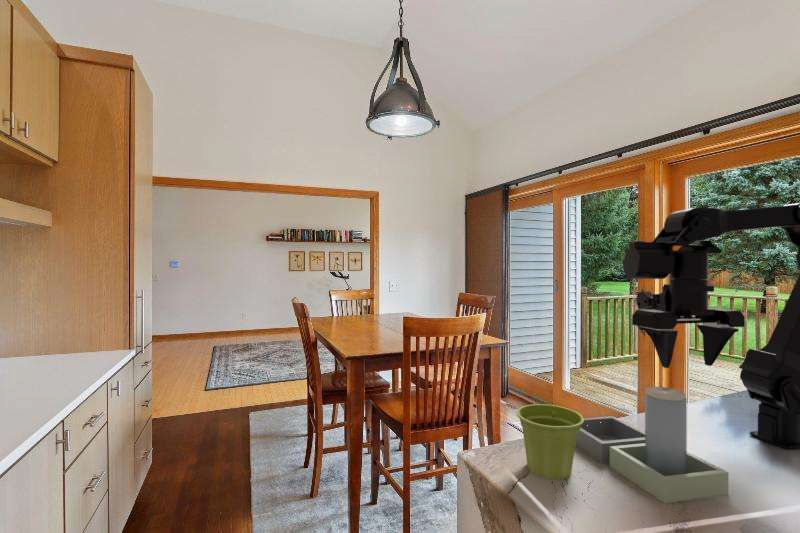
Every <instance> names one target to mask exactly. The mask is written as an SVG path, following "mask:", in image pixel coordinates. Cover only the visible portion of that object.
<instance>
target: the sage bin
mask: <svg viewBox="0 0 800 533" xmlns="http://www.w3.org/2000/svg"><path fill="white" fill-rule="evenodd" d="M609 467H610V468H611V469H612V470H614V471H616V472H617V473H618V474H620V475H621V476H622V477H624V478H625V479H627V480H629V482H632V483H633V484H634V485H636V486H638V487H639V488H641V489H642V490H644V491H645V492H646V493H648V494H649V495H651V496H653V497H654V498H655V499H656V500H659V501H660V502H661V503H662V504H665V505H666V504H671V503H678V502H686V501H692V500H693V501H694V500H703V499H708V498H716V497H723V496H728V495H729V474H730V473H729V472H730V471H727V470H725V469H723V468H721V467H720V466H716V465H715V464H713V463H711V462H709V461H707V460H705V459H704V458H703V459H702V458H701V457H698V456H697V455H695V454H693V453H691V452H689V451H687V474H679V475H670V476H664V475H662V474H660V473H659V472H657V471H655V470H653V469H652V468H650V467H648V466H647V465H645V443H641V444H631V445H620V446H610V463H609Z"/></svg>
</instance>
